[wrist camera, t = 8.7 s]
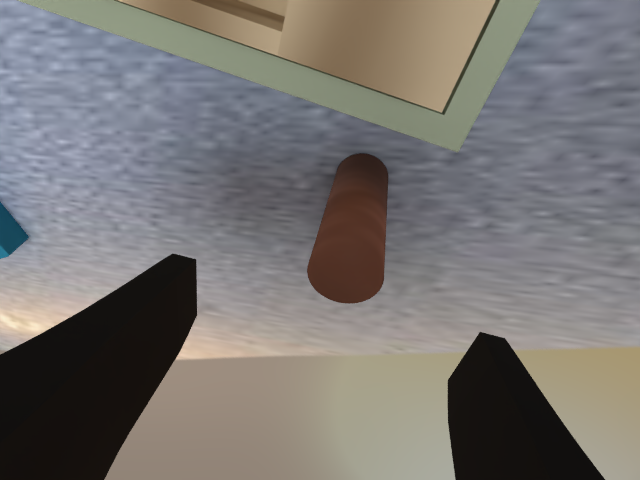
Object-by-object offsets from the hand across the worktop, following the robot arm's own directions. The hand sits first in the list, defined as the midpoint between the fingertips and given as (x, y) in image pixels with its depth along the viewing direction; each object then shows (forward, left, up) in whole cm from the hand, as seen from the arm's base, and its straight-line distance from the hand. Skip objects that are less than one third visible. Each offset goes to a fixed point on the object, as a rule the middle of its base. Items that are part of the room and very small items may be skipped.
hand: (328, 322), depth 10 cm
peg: (0, 0, -9) cm, 9 cm away
